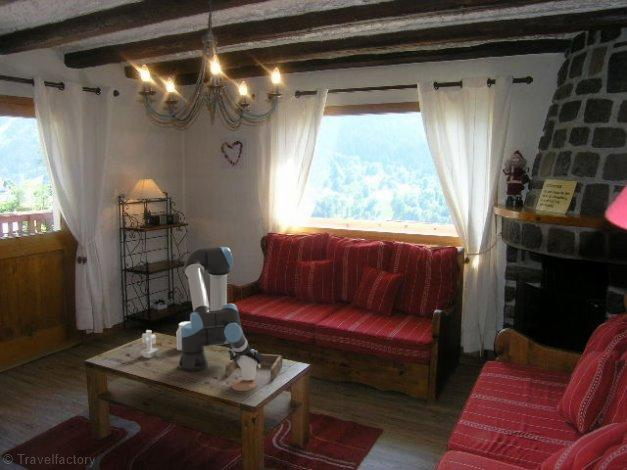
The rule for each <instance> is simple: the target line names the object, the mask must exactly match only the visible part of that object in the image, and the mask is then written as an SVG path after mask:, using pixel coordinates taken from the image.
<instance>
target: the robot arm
mask: <svg viewBox="0 0 627 470" xmlns="http://www.w3.org/2000/svg"><path fill="white" fill-rule="evenodd" d="M183 268H184V269H183V271H184V274H185V275H186V277H187V281H188V287H189V291H190V292H189V293H190V299H191V304H192V311H193V312H190V314H189V321H190V323H188V324H185V325H184V326H183V327H182V329H181V343H182V350H181V355H180V358H179V362H178V369H179V370H180V371H182V372H186V373H187V372H188V373H191V372H193V373H194V372H199V371H203V370H205V369H206V368H208V366H209V361H208V358H207V355H206V352H205V347H211V346H221V345H222V346H223V345H225V344H226V345H227V344H230V347H229V348H228V349H229V350H228V354H229V361H230V360H234V361H235V362H236V363H238V367H240V368H241V366H240V360H239V357H240V356H243V355H244V356H247V357H248V358H249V357H250V358H252V359H253V360H255V361H256V364H257V366H256V367H257V368H258V369H261V367H262V366H261V363H262V362H263V359H264V357H263V356H262V355H261V354H262V353H261V352H259V351H258V349H257V348H254V349H253V350H252V348H250V343H249V342H248V340H247V338H246V336H245V334H244V331H243V327H242V323H241V318H240V313H239V309H238V307H237V305H236V304H234V303H228V277H227V276H228V275H229V274H230V272H231V270H232V269H234V259H233V254H232V251H231V249H230V247H227V246H214V247H198V248H196V249H194V250H193V251H191V252H190V253H189V254H188V256H187V258H186V259H185V261H184V267H183ZM205 271H206V274H208V275H209V276H210V277H209V279H210V281H209V284H210V285H209V286H210V288H209V289H210V291H209V293H210V294H209V295H210V299H209V298H208V297H209V296H208V291H207V287H206V286H207V285H206V282H205V276H204V273H205ZM234 355H235V356H234Z"/></svg>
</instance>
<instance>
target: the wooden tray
mask: <svg viewBox="0 0 627 470" xmlns="http://www.w3.org/2000/svg"><path fill="white" fill-rule="evenodd" d="M260 354H261V355H262V356H263V357H264V359H263V362H262V363H261V367H270V380H271V381H275V379H276V378H277V375H278V374H279V372H280V370H281V369H282V368H283V355H280V354H270V353H269V354H267V353H266V354H265V353H260ZM234 356H235V354H234ZM237 367H239V365H238V363H236V362H235V361H234V360H230V359H229V361H228V362H227V363H226V364H225V376H226V377H230V376H231V375H232V374H233V372H234V371H235V370H236V369H237Z"/></svg>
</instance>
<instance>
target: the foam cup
mask: <svg viewBox="0 0 627 470" xmlns="http://www.w3.org/2000/svg"><path fill="white" fill-rule="evenodd" d="M251 349H252V348H251ZM252 350H254V349H252ZM239 360H240V366H241V367H240V372H241V380H242V379H244V380H253V381H254V380H255V379H256V375H257V374H256V373H257V367H258V366H257V364H256V361H255V360H253V359H252V358H250V357H249V358H248V357H247V356H244V355H243V356H240V357H239Z"/></svg>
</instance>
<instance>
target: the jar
mask: <svg viewBox="0 0 627 470" xmlns="http://www.w3.org/2000/svg"><path fill="white" fill-rule="evenodd" d="M188 323H190V320H189V321H181V322H180V323H178V328H177V330H176V332H175V334H176V351H177V350H178V351H182V343H181V329H182V327H183V326H184V325H185V324H188Z"/></svg>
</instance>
